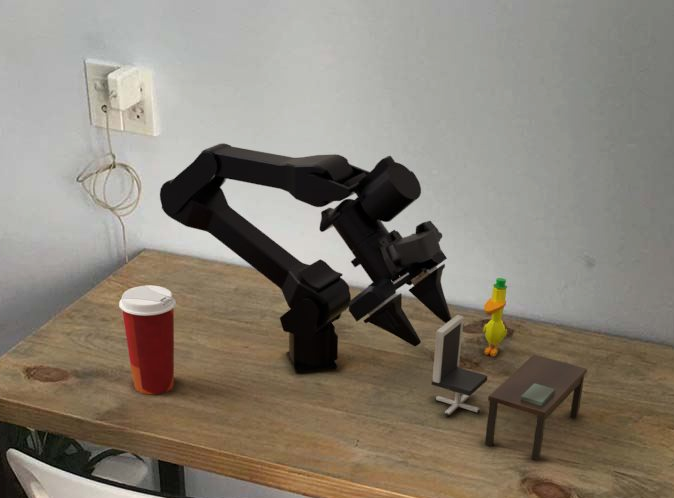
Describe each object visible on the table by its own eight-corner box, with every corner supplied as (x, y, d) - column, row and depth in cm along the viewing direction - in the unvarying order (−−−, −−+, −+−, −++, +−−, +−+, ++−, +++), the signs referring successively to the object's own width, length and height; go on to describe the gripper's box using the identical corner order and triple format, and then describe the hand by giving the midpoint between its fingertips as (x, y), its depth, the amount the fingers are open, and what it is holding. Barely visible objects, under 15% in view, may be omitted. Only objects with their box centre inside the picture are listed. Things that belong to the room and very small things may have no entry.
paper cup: (191, 380, 163) (186, 290, 155) (161, 402, 157) (154, 310, 149) (146, 368, 166) (138, 279, 158) (115, 390, 160) (105, 298, 152)
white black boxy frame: (423, 410, 158) (428, 330, 151) (446, 390, 164) (452, 312, 157) (468, 424, 155) (476, 343, 149) (490, 403, 161) (499, 324, 154)
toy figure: (492, 364, 171) (500, 291, 164) (470, 358, 173) (478, 285, 166) (509, 348, 176) (518, 276, 169) (488, 342, 177) (496, 271, 171)
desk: (483, 445, 151) (488, 391, 146) (527, 400, 162) (534, 349, 157) (537, 462, 148) (545, 408, 143) (579, 415, 159) (587, 364, 154)
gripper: (371, 227, 142) (442, 328, 143) (439, 189, 155) (503, 282, 157) (318, 272, 149) (386, 368, 151) (387, 231, 163) (448, 320, 164)
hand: (433, 332), depth 156 cm, fingers open, 9 cm apart
